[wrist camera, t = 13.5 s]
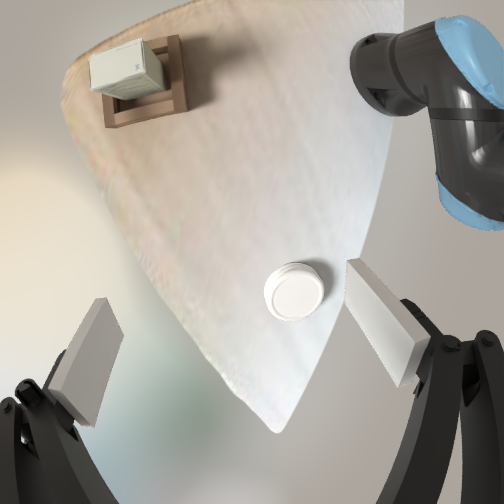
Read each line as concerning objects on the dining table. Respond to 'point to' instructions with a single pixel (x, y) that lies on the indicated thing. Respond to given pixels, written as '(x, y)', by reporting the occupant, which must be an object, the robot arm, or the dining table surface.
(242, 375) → the dining table surface
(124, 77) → the skincare box
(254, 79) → the dining table surface
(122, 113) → the holder
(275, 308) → the white round piece
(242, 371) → the dining table surface
